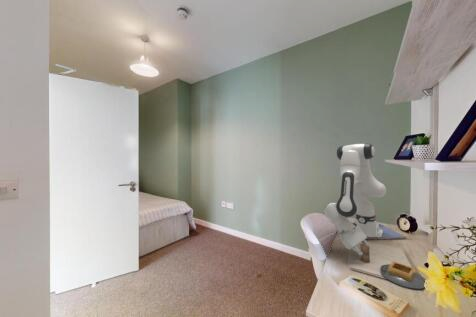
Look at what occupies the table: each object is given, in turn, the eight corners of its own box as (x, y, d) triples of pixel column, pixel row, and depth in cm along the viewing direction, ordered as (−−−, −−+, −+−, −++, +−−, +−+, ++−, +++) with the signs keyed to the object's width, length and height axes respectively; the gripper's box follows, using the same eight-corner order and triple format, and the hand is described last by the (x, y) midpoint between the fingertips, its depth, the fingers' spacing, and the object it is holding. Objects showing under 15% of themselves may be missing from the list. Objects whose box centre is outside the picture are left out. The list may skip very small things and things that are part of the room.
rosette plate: (386, 263, 96) (386, 255, 96) (429, 279, 83) (429, 269, 83) (375, 275, 87) (375, 266, 87) (422, 295, 74) (422, 284, 74)
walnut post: (362, 257, 103) (362, 243, 103) (370, 260, 99) (370, 246, 100) (359, 260, 100) (359, 245, 100) (368, 263, 97) (367, 248, 97)
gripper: (341, 230, 100) (362, 255, 92) (357, 222, 112) (376, 243, 104) (333, 235, 103) (352, 260, 95) (349, 227, 115) (367, 248, 107)
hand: (365, 251), depth 100 cm, fingers open, 8 cm apart
